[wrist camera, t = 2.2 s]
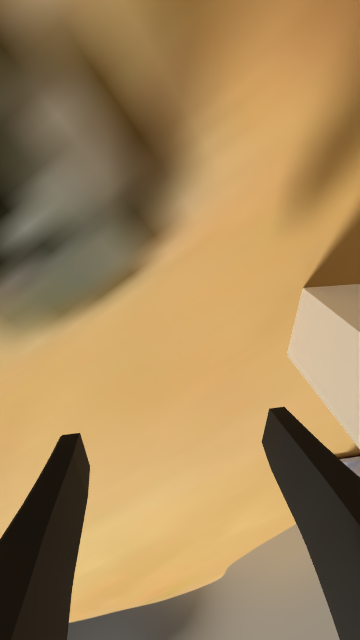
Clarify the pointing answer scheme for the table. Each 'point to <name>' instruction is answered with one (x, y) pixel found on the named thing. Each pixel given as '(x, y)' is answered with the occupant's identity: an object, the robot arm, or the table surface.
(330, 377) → the tall block
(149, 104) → the table surface
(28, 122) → the table surface
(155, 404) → the table surface
